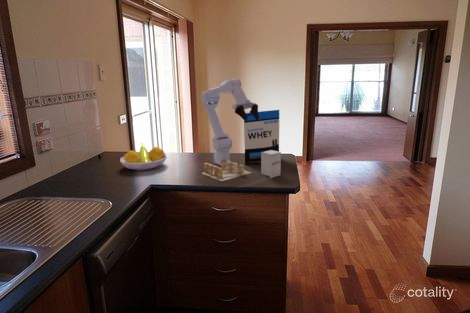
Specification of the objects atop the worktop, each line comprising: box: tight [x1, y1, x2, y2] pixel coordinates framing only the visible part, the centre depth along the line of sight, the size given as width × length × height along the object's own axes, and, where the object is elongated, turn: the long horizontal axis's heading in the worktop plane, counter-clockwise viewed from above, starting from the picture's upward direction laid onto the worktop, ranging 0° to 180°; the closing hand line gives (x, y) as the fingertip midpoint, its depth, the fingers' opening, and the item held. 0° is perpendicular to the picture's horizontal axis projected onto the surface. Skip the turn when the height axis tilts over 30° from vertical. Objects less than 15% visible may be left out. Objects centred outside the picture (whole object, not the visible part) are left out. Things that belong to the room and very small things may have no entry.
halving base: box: [201, 159, 253, 182], centre depth 177 cm, size 18×20×6 cm
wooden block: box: [203, 162, 223, 178], centre depth 174 cm, size 14×2×5 cm, turn 39°
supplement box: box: [260, 150, 282, 179], centre depth 172 cm, size 7×7×13 cm
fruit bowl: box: [119, 142, 168, 172], centre depth 196 cm, size 28×27×11 cm
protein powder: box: [243, 109, 280, 166], centre depth 196 cm, size 10×24×30 cm, turn 118°
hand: (252, 119), depth 165 cm, fingers open, 7 cm apart
